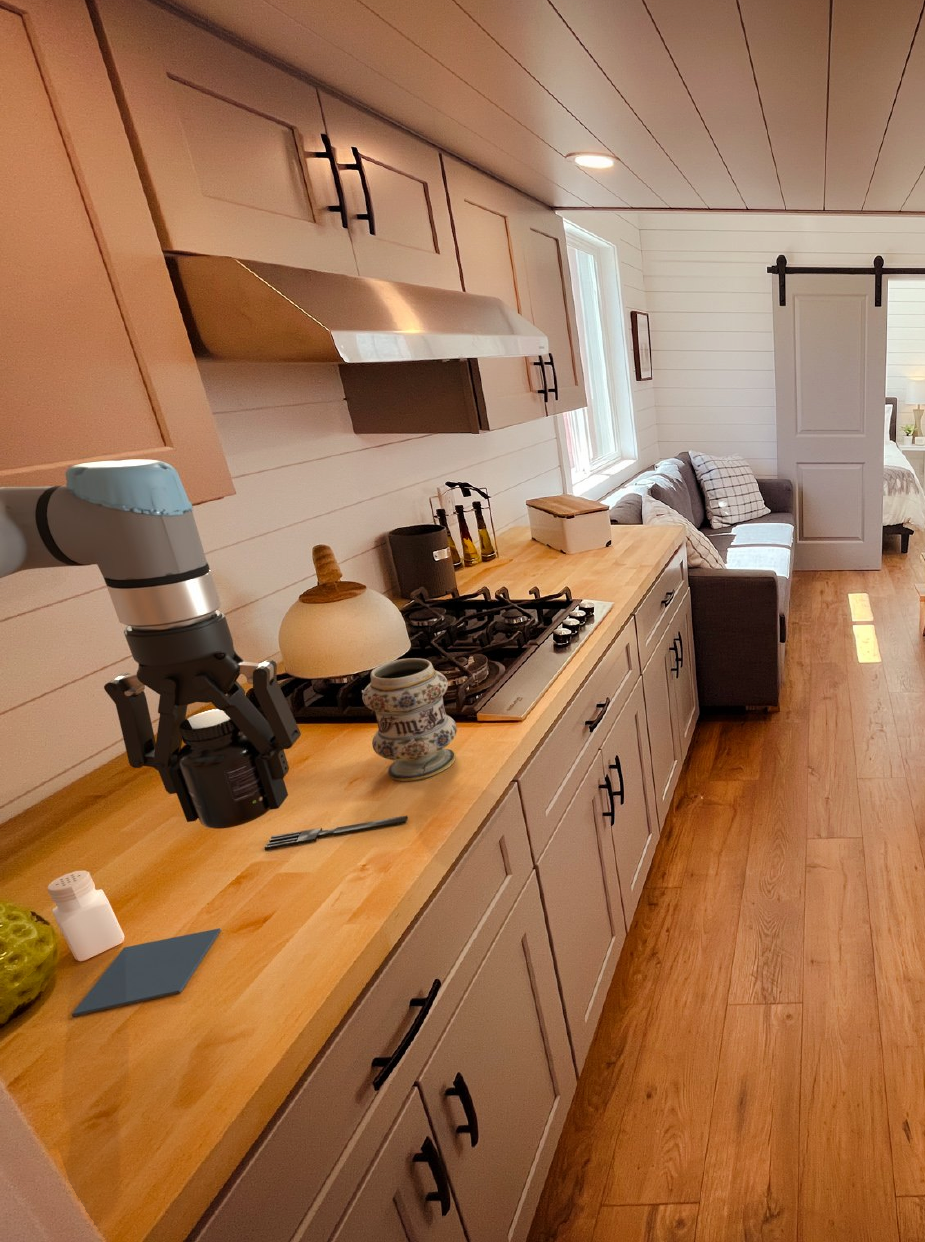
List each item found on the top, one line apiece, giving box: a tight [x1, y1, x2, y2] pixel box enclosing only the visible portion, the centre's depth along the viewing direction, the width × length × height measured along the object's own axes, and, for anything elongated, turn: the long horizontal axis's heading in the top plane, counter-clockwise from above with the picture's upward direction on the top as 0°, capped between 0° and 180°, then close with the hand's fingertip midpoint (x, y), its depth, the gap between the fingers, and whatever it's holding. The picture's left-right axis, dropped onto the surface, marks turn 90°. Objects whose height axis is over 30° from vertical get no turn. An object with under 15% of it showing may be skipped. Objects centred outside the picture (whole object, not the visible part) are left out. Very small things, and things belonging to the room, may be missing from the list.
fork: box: [263, 815, 409, 851], centre depth 97 cm, size 17×3×1 cm, turn 109°
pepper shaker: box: [46, 870, 126, 962], centre depth 77 cm, size 4×4×10 cm
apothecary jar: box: [361, 657, 458, 782], centre depth 111 cm, size 12×12×18 cm
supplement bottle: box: [177, 708, 271, 830], centre depth 74 cm, size 7×7×12 cm
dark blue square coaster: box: [70, 928, 221, 1017], centre depth 75 cm, size 9×9×1 cm
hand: (239, 807), depth 76 cm, fingers closed on supplement bottle, 7 cm apart
